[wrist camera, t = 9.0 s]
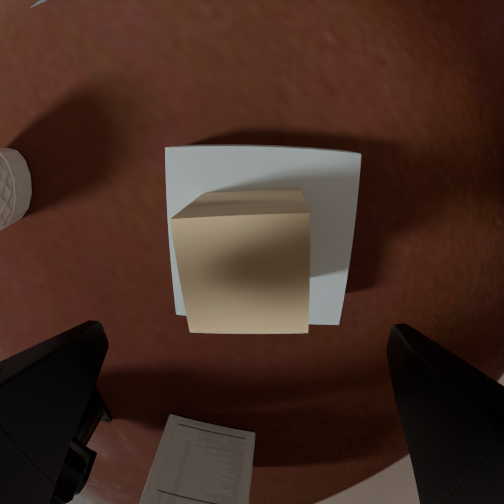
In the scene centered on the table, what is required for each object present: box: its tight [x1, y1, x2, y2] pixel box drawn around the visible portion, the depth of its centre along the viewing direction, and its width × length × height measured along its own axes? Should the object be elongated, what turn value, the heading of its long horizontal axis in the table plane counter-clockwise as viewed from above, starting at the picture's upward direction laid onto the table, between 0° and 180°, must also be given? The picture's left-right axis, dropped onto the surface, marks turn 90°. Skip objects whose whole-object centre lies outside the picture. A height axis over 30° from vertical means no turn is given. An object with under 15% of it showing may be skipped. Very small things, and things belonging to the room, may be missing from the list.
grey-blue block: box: [165, 144, 361, 325], centre depth 18 cm, size 10×10×4 cm
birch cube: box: [170, 189, 310, 334], centre depth 14 cm, size 5×5×5 cm
